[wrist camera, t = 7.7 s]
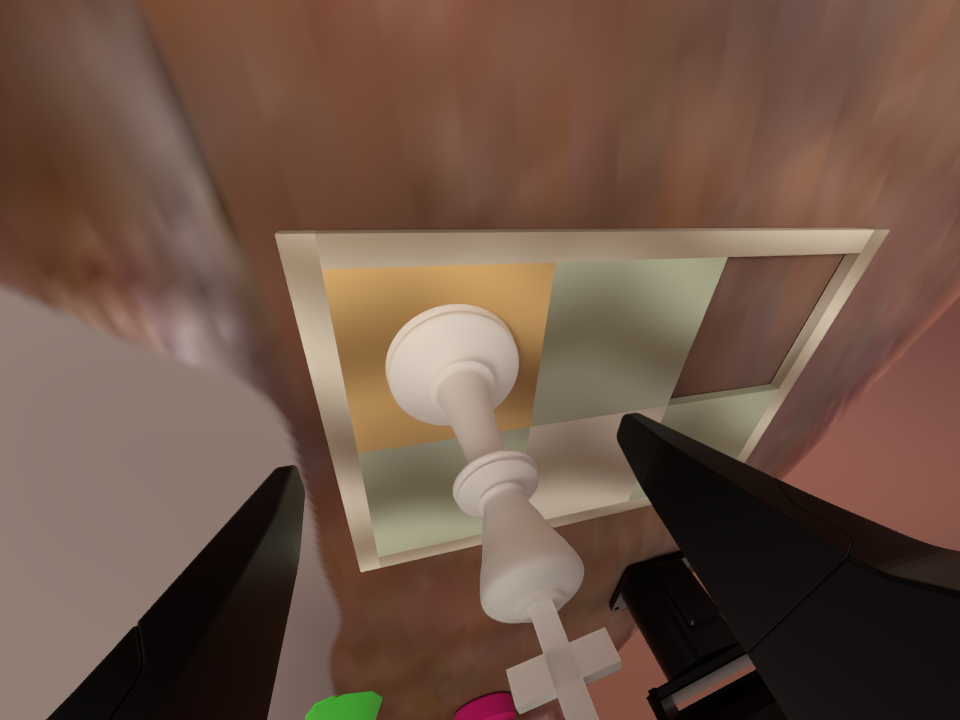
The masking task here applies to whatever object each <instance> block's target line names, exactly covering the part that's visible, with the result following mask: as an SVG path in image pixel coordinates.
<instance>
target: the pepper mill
mask: <svg viewBox="0 0 960 720" xmlns="http://www.w3.org/2000/svg"><path fill="white" fill-rule="evenodd" d="M515 718H516V713H515V709H514V705H513V701H512V697H511V695H510V694H509V693H507V692H496V693H491V694H487V695H484V696H482V697H479V698H477V699H475V700H472V701H470V702H469V703H467V704H465V705H464V706H462V707H461V708H460V709H459V710H458V711H457V712H456V713H455V715H454V720H515Z"/></svg>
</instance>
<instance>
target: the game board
mask: <svg viewBox="0 0 960 720" xmlns="http://www.w3.org/2000/svg"><path fill="white" fill-rule="evenodd" d="M889 231H890V230H889V229H883V228H671V229H459V230H279V231H277V232H276V233H275V237H276V241H277V245H278V249H279V253H280V257H281V261H282V265H283V269H284V273H285V277H286V281H287V285H288V289H289V292H290V296H291V300H292V304H293V308H294V312H295V316H296V320H297V324H298V328H299V332H300V336H301V340H302V344H303V348H304V351H305V355H306V359H307V363H308V367H309V371H310V375H311V379H312V383H313V387H314V391H315V395H316V399H317V403H318V407H319V410H320V414H321V418H322V422H323V426H324V430H325V434H326V438H327V442H328V446H329V450H330V454H331V458H332V462H333V466H334V469H335V473H336V477H337V481H338V485H339V489H340V493H341V497H342V501H343V505H344V509H345V513H346V517H347V521H348V524H349V528H350V532H351V536H352V540H353V544H354V548H355V552H356V556H357V560H358V564H359V568H360V572H364V571H369V570H373V569H377V568H382V567H386V566H390V565H395V564H399V563H403V562H407V561H412V560H416V559H420V558H425V557H429V556H433V555H438V554H442V553H446V552H451V551H455V550H459V549H464V548H468V547H472V546H476V545H481V544H482V528H483V519H481V518H474V517H471V516H469V515H467V514H465V513H464V512H463V511H462V510H461V509H460V507H459V506H458V504H457V503H456V501H455V499H454V497H453V485H454V482H455V479H456V477H457V476H458V474H459V473H460V472H461V471H462V469H463V468H464V467H465V466H467V465H468V462H467V459H466V457H465V455H464V452H463V450H462V447H461V445H460V443H459V441H458V439H457V437H456V435H455V433H454V431H453V429H452V426H440V425H433V424H428V423H425V422H422V421H419V420H417V419H415V418H413V417H412V416H410V415H409V414H407V413H406V412H405V411H404V410H403V409H402V408H401V407H400V406H399V405H398V404H397V402H396V401H395V399H394V397H393V395H392V393H391V390H390V387H389V384H388V381H387V377H386V369H385V365H386V357H387V353H388V349H389V347H390V345H391V343H392V341H393V339H394V337H395V336H396V334H397V333H398V332H399V331H400V329H401V328H402V327H403V326H404V325H405V324H406V323H407V322H409V321H410V320H411V319H412V318H414V317H415V316H417V315H419V314H420V313H422V312H424V311H426V310H429V309H431V308H434V307H438V306H442V305H447V304H468V305H474V306H478V307H481V308H483V309H486V310H488V311H490V312H491V313H493V314H495V315H496V316H497V317H499V318H500V319H501V320H502V321H503V322H504V323H505V324H506V326H507V327H508V329H509V330H510V332H511V334H512V336H513V339H514V342H515V344H516V347H517V350H518V354H519V370H518V375H517V378H516V381H515V384H514V386H513V388H512V389H511V391H510V393H509V394H508V396H507V397H506V398H505V399H504V400H503V402H502V403H501V404H500V405H498V406H497V407H496V408H495V409H494V413H495V417H496V421H497V425H498V429H499V433H500V436H501V439H502V442H503V446H504V449H505V450H516V451H520V452H523V453H525V454H527V455H529V456H530V457H531V458H532V459H533V460H534V461H535V463H536V465H537V469H538V477H539V481H538V486H537V489H536V491H535V493H534V494H533V496H532V497H531V498H530V499H529V500H528V501H529V502H530V503H531V504H532V505H533V506H534V507H535V508H536V509H537V510H538V511H539V512H540V513H541V515H542V516H543V518H544V519H545V520H546V521H547V523H548V524H549V525H550V526H551V527H552V528H554V527H558V526H563V525H567V524H571V523H576V522H580V521H584V520H589V519H593V518H597V517H602V516H606V515H610V514H614V513H619V512H623V511H627V510H632V509H636V508H640V507H645V506H649V505H652V504H651V503H650V501H649V499H648V498H647V496H646V495H645V493H644V491H643V490H642V488H641V486H640V485H639V483H638V481H637V479H636V477H635V475H634V473H633V471H632V469H631V467H630V465H629V463H628V461H627V459H626V457H625V456H624V454H623V452H622V450H621V448H620V446H619V444H618V441H617V431H618V428H619V425H620V422H621V419H622V417H623V415H625V414H628V413H640V414H642V415H644V416H646V417H648V418H650V419H652V420H655V421H657V422H659V423H661V424H663V425H665V426H667V427H669V428H671V429H673V430H676V431H678V432H680V433H682V434H684V435H686V436H688V437H690V438H692V439H694V440H697V441H699V442H701V443H703V444H705V445H707V446H709V447H711V448H713V449H715V450H718V451H720V452H722V453H724V454H726V455H728V456H730V457H732V458H734V459H736V460H739V461H741V462H743V463H745V462H746V460H747V459H748V457H749V455H750V454H751V452H752V451H753V449H754V447H755V446H756V444H757V443H758V441H759V439H760V438H761V436H762V435H763V433H764V431H765V430H766V428H767V427H768V425H769V423H770V422H771V420H772V419H773V417H774V415H775V414H776V412H777V410H778V409H779V407H780V406H781V404H782V402H783V401H784V399H785V398H786V396H787V394H788V393H789V391H790V390H791V388H792V386H793V385H794V383H795V382H796V380H797V378H798V377H799V375H800V374H801V372H802V370H803V369H804V367H805V366H806V364H807V362H808V361H809V359H810V358H811V356H812V354H813V353H814V351H815V350H816V348H817V346H818V345H819V343H820V341H821V340H822V338H823V337H824V335H825V333H826V332H827V330H828V329H829V327H830V325H831V324H832V322H833V321H834V319H835V317H836V316H837V314H838V313H839V311H840V309H841V308H842V306H843V305H844V303H845V301H846V300H847V298H848V297H849V295H850V293H851V292H852V290H853V289H854V287H855V285H856V284H857V282H858V281H859V279H860V277H861V276H862V274H863V273H864V271H865V269H866V268H867V266H868V264H869V263H870V261H871V260H872V258H873V256H874V255H875V253H876V252H877V250H878V248H879V247H880V245H881V244H882V242H883V240H884V239H885V237H886V236H887V234H888V232H889ZM816 254H845V256H844V258H843V260H842V261H841V263H840V265H839V267H838V268H837V270H836V272H835V273H834V275H833V277H832V279H831V280H830V282H829V284H828V285H827V287H826V289H825V291H824V292H823V294H822V296H821V298H820V299H819V301H818V303H817V304H816V306H815V308H814V310H813V311H812V313H811V315H810V317H809V318H808V320H807V322H806V323H805V325H804V327H803V329H802V330H801V332H800V334H799V335H798V337H797V339H796V341H795V342H794V344H793V346H792V348H791V349H790V351H789V353H788V354H787V356H786V358H785V360H784V361H783V363H782V365H781V366H780V368H779V370H778V372H777V373H776V375H775V377H774V379H773V380H772V382H771V384H767V385H760V386H753V387H746V388H739V389H733V390H726V391H719V392H712V393H705V394H699V395H692V396H685V397H678V398H671V396H672V393H673V391H674V388H675V386H676V383H677V381H678V378H679V376H680V374H681V371H682V369H683V366H684V364H685V361H686V359H687V356H688V354H689V352H690V349H691V347H692V344H693V342H694V339H695V337H696V334H697V332H698V330H699V327H700V325H701V322H702V320H703V317H704V315H705V312H706V310H707V308H708V305H709V303H710V300H711V298H712V295H713V293H714V290H715V288H716V285H717V283H718V281H719V278H720V276H721V273H722V271H723V268H724V266H725V263H726V261H727V259H728V257H749V256H783V255H816ZM670 398H671V399H670Z"/></svg>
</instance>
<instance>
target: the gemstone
mask: <svg viewBox="0 0 960 720" xmlns="http://www.w3.org/2000/svg"><path fill="white" fill-rule="evenodd" d="M382 699H383V698H382V697H381V696H379V695H377V694H376V693H374V692H372V691H370V692H361V693H353V694H344V695H342V696H339V697H337V698H335V695H334V696H331V697H329V698H327V699H324V700H322V701H320V702H318V703H315V704H314V706H313V707H312V708H311V710H310V711H309V712H308V714H307V715H306V716H305V719H306V720H376V717H377V714H378V711H379V708H380V705H381V702H382Z"/></svg>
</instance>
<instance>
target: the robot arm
mask: <svg viewBox="0 0 960 720" xmlns="http://www.w3.org/2000/svg"><path fill="white" fill-rule="evenodd" d="M617 441H618V444H619V446H620V448H621V450H622V452H623V454H624V456H625V457H626V459H627V461H628V463H629V465H630V467H631V469H632V471H633V473H634V475H635V477H636V479H637V481H638V483H639V485H640V486H641V488H642V490H643V491H644V493H645V495H646V496H647V498H648V499H649V501H650V503H651V504H652V506H653V507H654V509H655V510H656V512H657V514H658V515H659V517H660V518H661V520H662V521H663V523H664V525H665V526H666V528H667V529H668V531H669V532H670V534H671V536H672V537H673V539H674V540H675V542H676V543H677V545H678V546H679V548H680V550H681V551H682V553H679V554H676V555H672V556H668V557H665V558H661V559H658V560H654V561H650V562H647V563H643V564H640V565H636V566H633V567H630V568H628V569H627V570H626V571H625V573H624V576H623V578H622V580H621V582H620V584H619V586H618V588H617V590H616V592H615V594H614V596H613V598H612V601H611V603H610V605H609V607H610V609H611V611H612V612H615V611H618V610H621V609H625V608H628V609H629V611H630V613H631V615H632V617H633V618H634V620H635V622H636V624H637V626H638V627H639V629H640V631H641V633H642V635H643V636H644V638H645V640H646V642H647V644H648V645H649V647H650V649H651V651H652V653H653V655H654V656H655V658H656V660H657V662H658V664H659V665H660V667H661V669H662V671H663V673H664V674H665V676H666V678H667V680H668V682H667V683H665V684H664V685H662V686H660V687H658V688H655V687H654V688H652V689H651V690H649V691H648V692H649V696H648V697H647V700H648V702H649V704H650V706H651V708H652V710H653V712H654V714H655V716H656V718H657V720H960V551H955V550H950V549H946V548H942V547H938V546H934V545H931V544H928V543H924V542H922V541H919V540H916V539H913V538H911V537H909V536H906V535H904V534H902V533H899V532H897V531H894V530H892V529H890V528H887V527H885V526H883V525H880V524H878V523H876V522H873V521H871V520H868V519H866V518H864V517H861V516H859V515H857V514H854V513H852V512H850V511H847V510H845V509H842V508H840V507H837V506H836V505H833V504H831V503H829V502H826V501H824V500H822V499H819V498H817V497H815V496H813V495H811V494H808V493H806V492H804V491H802V490H799V489H798V488H795V487H793V486H791V485H789V484H787V483H785V482H783V481H781V480H779V479H777V478H772V476H770V475H768V474H766V473H764V472H762V471H760V470H757V469H755V468H753V467H751V466H749V465H747V464H745V463H743V462H741V461H739V460H736V459H734V458H732V457H730V456H728V455H726V454H724V453H722V452H720V451H718V450H715V449H713V448H711V447H709V446H707V445H705V444H703V443H701V442H699V441H697V440H694V439H692V438H690V437H688V436H686V435H684V434H682V433H680V432H678V431H676V430H673V429H671V428H669V427H667V426H665V425H663V424H661V423H659V422H657V421H655V420H652V419H650V418H648V417H646V416H644V415H642V414H640V413H628V414H625V415H623V417H622V419H621V422H620V425H619V428H618V431H617ZM304 500H305V490H304V486H303V483H302V480H301V477H300V474H299V471H298V468H297V467H296V466H295V465H290V466H284V467H278V468H276V469H275V470H274V471H273V472H272V473H271V474H270V475H269V476H268V478H267V479H266V480H265V481H264V482H263V483H262V484H261V485H260V486H259V488H258V489H257V490H256V491H255V492H254V493H253V494H252V495H251V496H250V498H249V499H248V500H247V501H246V502H245V503H244V504H243V505H242V506H241V508H240V509H239V510H238V511H237V512H236V513H235V514H234V515H233V516H232V518H231V519H230V520H229V521H228V522H227V523H226V524H225V525H224V527H223V528H222V529H221V530H220V531H219V532H218V533H217V534H216V535H215V536H214V538H213V539H212V540H211V541H210V542H209V543H208V544H207V545H206V547H205V548H204V549H203V550H202V551H201V552H200V553H199V554H198V555H197V556H196V558H195V559H194V560H193V561H192V562H191V563H190V564H189V565H188V567H187V568H186V569H185V570H184V571H183V572H182V573H181V574H180V575H179V576H178V578H177V579H176V580H175V581H174V582H173V583H172V584H171V585H170V586H169V588H168V589H167V590H166V591H165V592H164V593H163V594H162V595H161V596H160V598H159V599H158V600H157V601H156V602H155V603H154V604H153V605H152V607H151V608H150V609H149V610H148V611H147V612H146V613H145V614H144V615H143V617H142V618H141V619H140V620H139V621H138V624H137V626H134V627H133V628H132V629H131V630H130V631H129V632H128V633H127V634H126V635H125V636H124V637H123V639H122V640H121V641H120V642H119V643H118V644H117V645H116V646H115V648H114V649H113V650H112V651H111V652H110V653H109V654H108V655H107V656H106V657H105V658H104V659H103V660H102V662H101V663H100V664H99V665H98V666H97V667H96V668H95V669H94V670H93V671H92V672H91V673H90V675H89V676H88V677H87V678H86V679H85V680H84V681H83V682H82V683H81V684H80V685H79V686H78V687H77V689H76V690H75V691H74V692H73V693H72V694H71V695H70V696H69V697H68V698H67V699H66V700H65V701H64V702H63V703H62V704H61V705H60V706H59V707H58V708H57V709H56V710H55V711H54V712H53V713H52V714H51V715H50V716H49V717H48V718H47V719H46V720H267V717H268V712H269V707H270V702H271V697H272V692H273V687H274V682H275V678H276V673H277V668H278V663H279V658H280V652H281V648H282V643H283V639H284V634H285V629H286V624H287V618H288V614H289V609H290V604H291V599H292V594H293V589H294V585H295V580H296V575H297V570H298V563H299V557H300V547H301V535H302V523H303V512H304ZM690 565H691V567H692V568H693V570H694V572H695V573H696V575H697V576H698V578H699V579H700V581H701V582H702V584H703V586H704V587H705V589H706V590H707V592H708V593H707V592H706V591H705V589H704V588H703V587H702V586H701V584H700V583H699V581H698V580H697V579H696V577H695V576H694V575H693V573H692V572H691V571H690V569H689V567H690ZM708 594H709V595H710V596H709V595H708ZM711 598H712V599H711ZM723 617H724V618H723ZM752 663H753V665H754V666H755V668H756V670H754V671H752V672H750V673H749V674H747V675H745V676H743V677H741V678H739V679H737V680H736V681H734V682H732V683H730V684H729V685H726V686H725V687H723V688H721V689H719V690H717V691H716V692H713V693H712V694H710V695H708V696H706V697H704V698H702V699H700V700H699V701H697V702H695V703H693V704H691V705H689V706H688V707H686V708H684V709H682V710H680V711H679V710H678V708H677V706H676V705H677V704H678V703H680V702H682V701H684V700H686V699H688V698H690V697H691V696H693V695H695V694H697V693H699V692H701V691H702V690H704V689H706V688H708V687H710V686H712V685H714V684H715V683H717V682H719V681H721V680H723V679H725V678H726V677H728V676H730V675H732V674H734V673H735V672H737V671H739V670H741V669H743V668H745V667H747V666H748V665H750V664H752Z"/></svg>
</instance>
